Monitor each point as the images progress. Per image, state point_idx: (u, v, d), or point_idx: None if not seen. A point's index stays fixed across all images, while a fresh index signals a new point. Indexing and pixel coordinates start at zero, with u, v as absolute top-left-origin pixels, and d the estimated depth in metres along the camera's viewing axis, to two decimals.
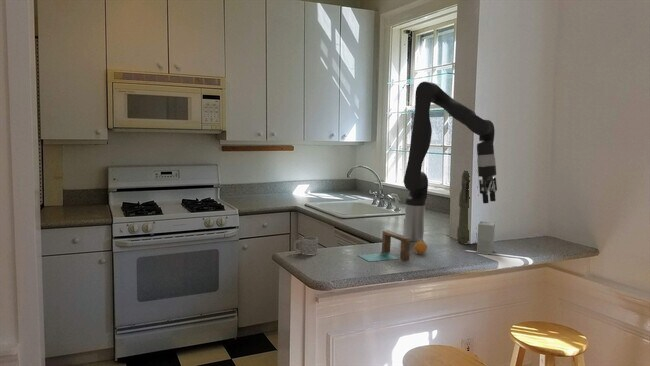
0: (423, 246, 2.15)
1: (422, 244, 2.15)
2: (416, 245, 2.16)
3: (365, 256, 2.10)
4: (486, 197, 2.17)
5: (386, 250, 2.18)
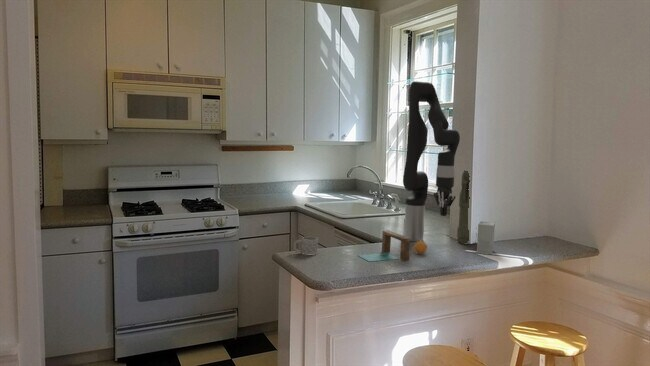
0: (423, 246, 2.15)
1: (422, 244, 2.15)
2: (416, 245, 2.16)
3: (365, 256, 2.10)
4: (440, 209, 2.21)
5: (386, 250, 2.18)
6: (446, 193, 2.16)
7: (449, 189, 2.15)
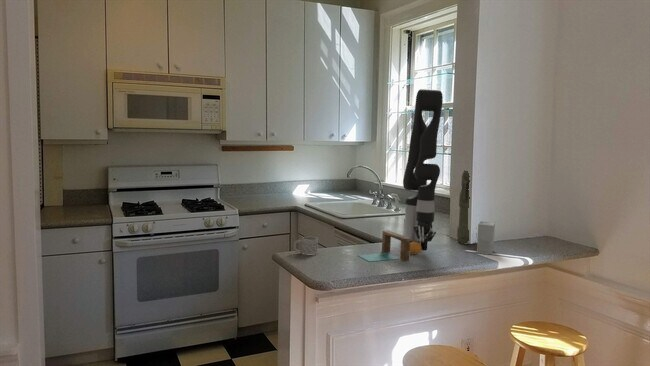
0: (416, 247, 2.14)
1: (415, 246, 2.14)
2: (410, 249, 2.15)
3: (365, 256, 2.10)
4: (421, 244, 2.17)
5: (386, 250, 2.18)
6: (426, 228, 2.13)
7: (429, 224, 2.12)
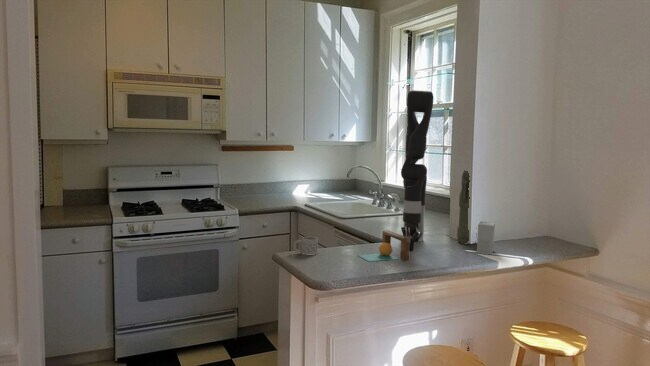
0: (389, 250, 2.10)
1: (391, 248, 2.11)
2: (387, 243, 2.11)
3: (365, 256, 2.10)
4: None
5: None
6: (413, 229, 2.11)
7: (416, 225, 2.11)
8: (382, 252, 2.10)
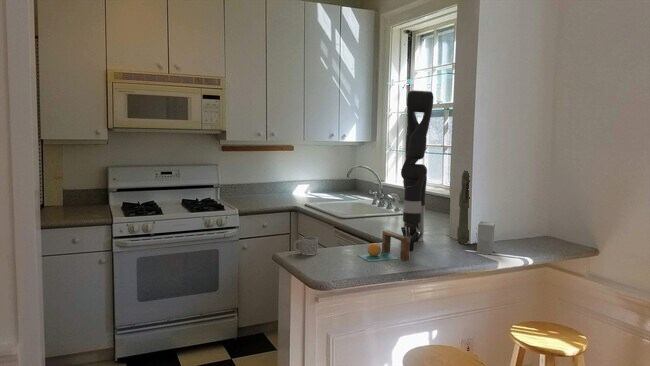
0: (375, 249, 2.08)
1: (373, 248, 2.08)
2: (368, 251, 2.10)
3: (365, 256, 2.10)
4: None
5: (386, 250, 2.18)
6: (413, 229, 2.11)
7: (416, 225, 2.11)
8: (378, 254, 2.10)
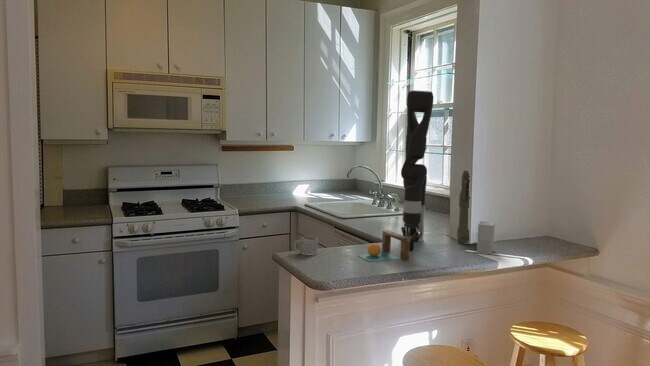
0: (375, 249, 2.08)
1: (373, 248, 2.08)
2: (368, 251, 2.10)
3: (365, 256, 2.10)
4: None
5: (386, 250, 2.18)
6: (413, 229, 2.11)
7: (416, 225, 2.11)
8: (378, 254, 2.10)
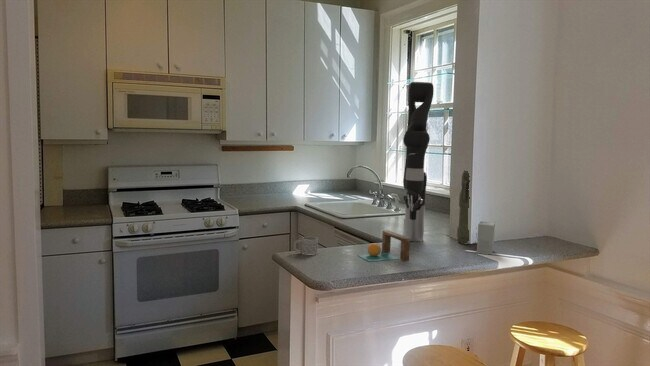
0: (375, 249, 2.08)
1: (373, 248, 2.08)
2: (368, 251, 2.10)
3: (365, 256, 2.10)
4: (410, 213, 2.15)
5: (386, 250, 2.18)
6: (415, 197, 2.10)
7: (418, 192, 2.09)
8: (378, 254, 2.10)
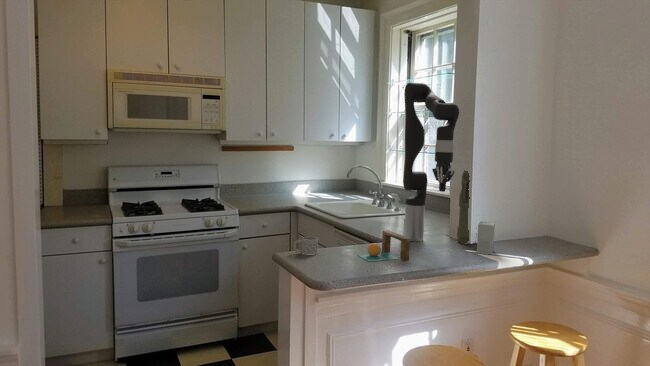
0: (375, 249, 2.08)
1: (373, 248, 2.08)
2: (368, 251, 2.10)
3: (365, 256, 2.10)
4: None
5: (386, 250, 2.18)
6: (445, 168, 2.13)
7: (448, 164, 2.13)
8: (378, 254, 2.10)
